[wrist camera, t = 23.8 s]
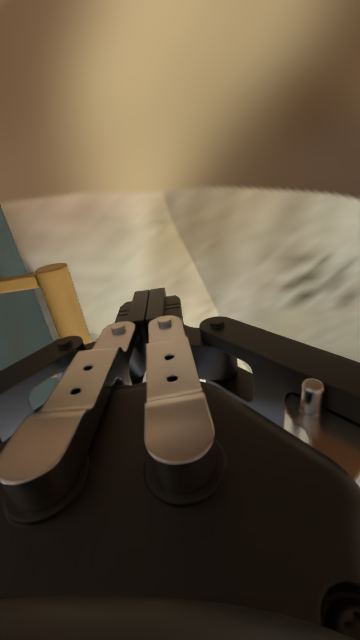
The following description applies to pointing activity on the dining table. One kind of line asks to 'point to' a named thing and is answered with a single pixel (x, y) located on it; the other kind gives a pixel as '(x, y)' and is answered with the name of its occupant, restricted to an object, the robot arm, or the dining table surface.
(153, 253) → the dining table surface
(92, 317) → the dining table surface
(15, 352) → the drawer
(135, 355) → the robot arm
